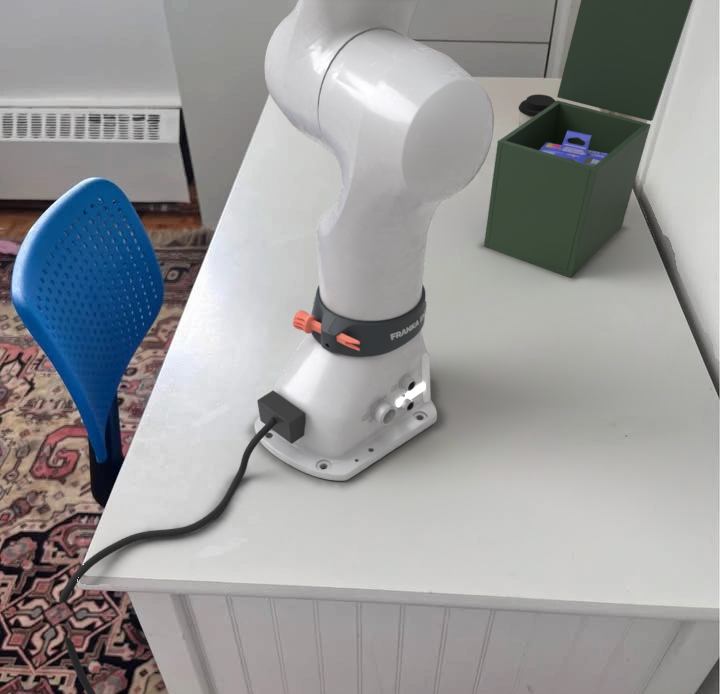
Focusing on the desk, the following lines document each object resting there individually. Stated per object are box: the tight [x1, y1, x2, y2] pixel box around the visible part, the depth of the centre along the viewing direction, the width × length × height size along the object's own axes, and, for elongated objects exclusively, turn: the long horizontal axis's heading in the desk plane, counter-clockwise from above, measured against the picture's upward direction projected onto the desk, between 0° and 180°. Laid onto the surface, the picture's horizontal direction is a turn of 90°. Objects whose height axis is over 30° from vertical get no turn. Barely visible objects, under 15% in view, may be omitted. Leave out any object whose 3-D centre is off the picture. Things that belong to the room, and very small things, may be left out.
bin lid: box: [556, 0, 693, 122], centre depth 98 cm, size 18×15×1 cm
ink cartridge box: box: [539, 130, 608, 167], centre depth 105 cm, size 10×6×14 cm, turn 62°
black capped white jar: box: [517, 94, 557, 127], centre depth 126 cm, size 7×7×10 cm
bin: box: [483, 100, 652, 278], centre depth 106 cm, size 18×15×16 cm
